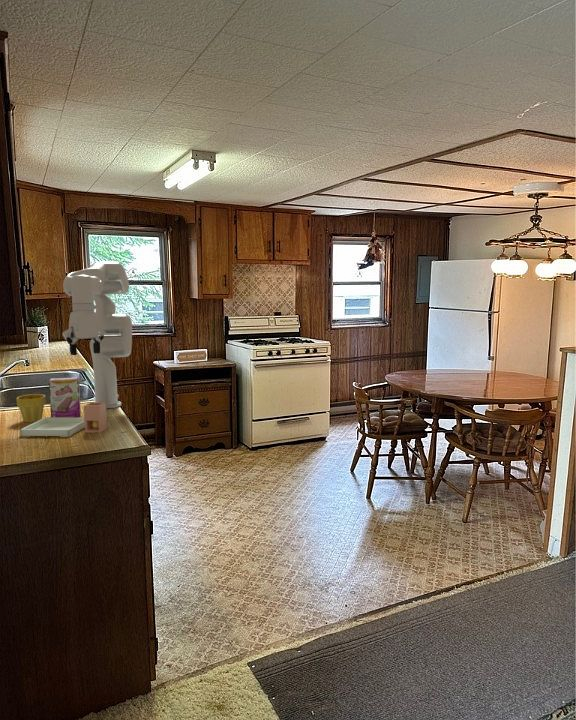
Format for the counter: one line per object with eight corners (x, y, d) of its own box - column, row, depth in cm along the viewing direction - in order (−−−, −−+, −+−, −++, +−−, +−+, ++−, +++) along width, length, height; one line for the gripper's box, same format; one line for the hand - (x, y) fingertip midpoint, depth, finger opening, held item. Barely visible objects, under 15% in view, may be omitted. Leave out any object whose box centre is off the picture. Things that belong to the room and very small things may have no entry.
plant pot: (35, 424, 203) (33, 399, 201) (12, 423, 205) (10, 398, 203) (52, 417, 213) (50, 394, 211) (30, 416, 215) (28, 393, 213)
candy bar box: (50, 420, 208) (48, 380, 206) (52, 417, 213) (49, 378, 210) (80, 418, 211) (78, 378, 209) (81, 415, 216) (79, 376, 214)
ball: (94, 427, 195) (93, 419, 194) (101, 427, 195) (101, 419, 194) (90, 429, 192) (90, 421, 191) (98, 429, 192) (98, 421, 191)
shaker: (91, 428, 196) (90, 402, 195) (107, 428, 196) (106, 402, 195) (85, 432, 190) (83, 405, 189) (101, 432, 190) (99, 405, 189)
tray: (45, 423, 203) (45, 417, 203) (90, 423, 202) (90, 417, 202) (20, 436, 185) (19, 429, 185) (69, 436, 185) (69, 429, 184)
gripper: (97, 308, 204) (99, 352, 205) (56, 308, 190) (58, 355, 191) (109, 308, 199) (111, 352, 201) (67, 308, 185) (69, 356, 187)
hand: (85, 354), depth 196 cm, fingers open, 9 cm apart
